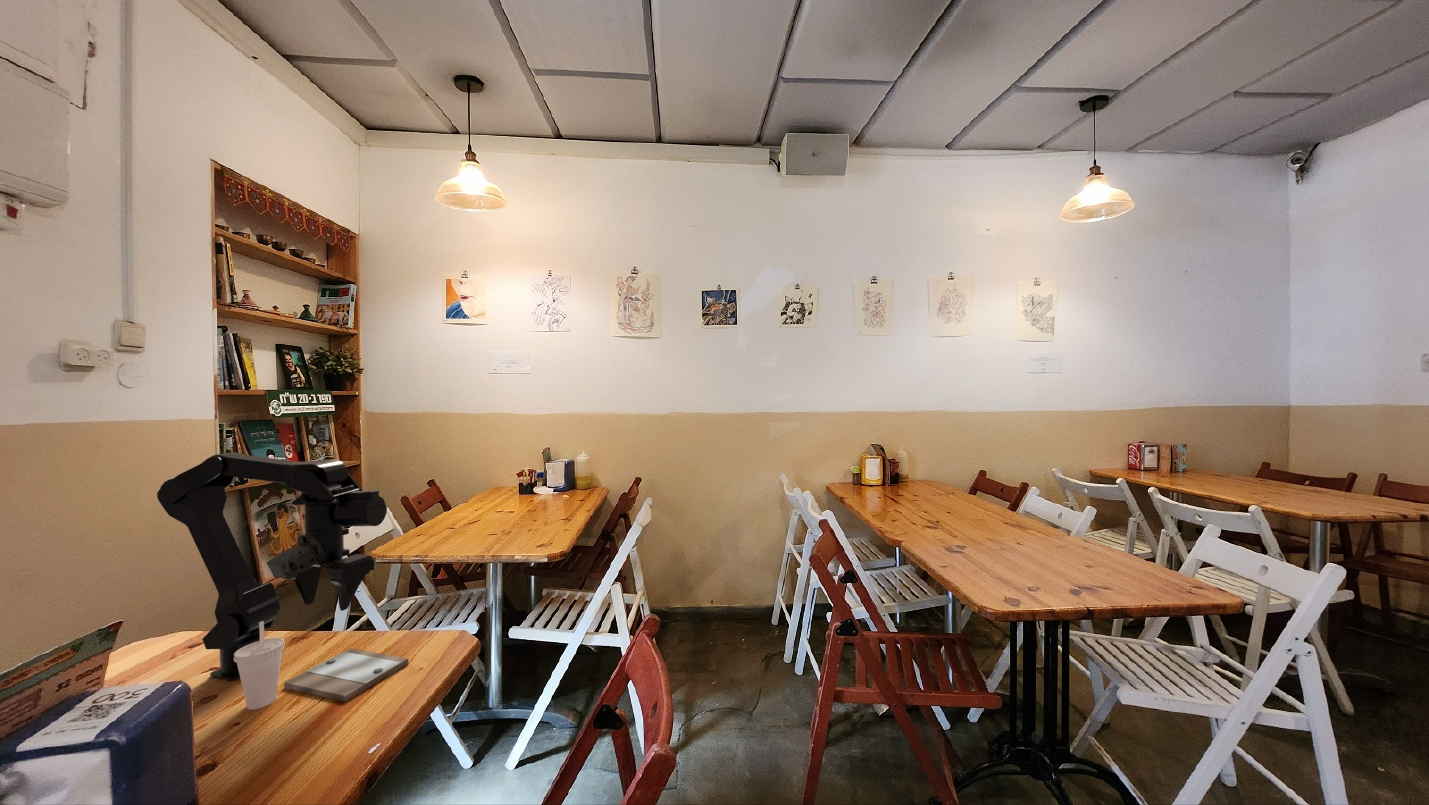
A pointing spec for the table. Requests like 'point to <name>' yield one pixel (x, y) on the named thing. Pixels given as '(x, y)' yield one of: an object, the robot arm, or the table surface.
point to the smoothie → (260, 670)
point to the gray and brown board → (346, 674)
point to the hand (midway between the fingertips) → (326, 607)
